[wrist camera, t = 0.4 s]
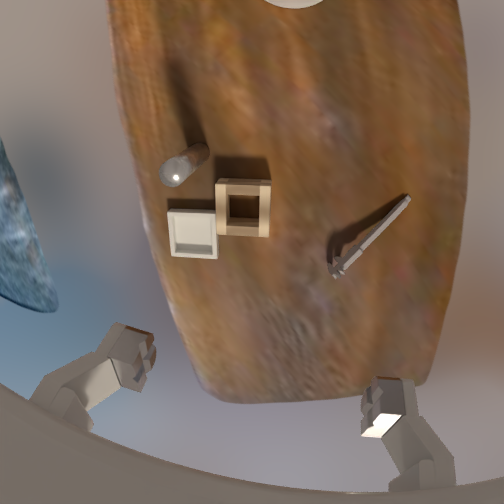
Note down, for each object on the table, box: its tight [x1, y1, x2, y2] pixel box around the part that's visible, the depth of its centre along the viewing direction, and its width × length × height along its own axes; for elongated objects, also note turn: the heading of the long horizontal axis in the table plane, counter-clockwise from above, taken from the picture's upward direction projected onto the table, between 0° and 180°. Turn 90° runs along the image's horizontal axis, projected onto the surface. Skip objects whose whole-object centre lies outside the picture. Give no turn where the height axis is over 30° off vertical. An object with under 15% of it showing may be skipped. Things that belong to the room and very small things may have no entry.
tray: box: [167, 208, 219, 259], centre depth 60 cm, size 9×9×2 cm
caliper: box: [327, 195, 411, 279], centre depth 55 cm, size 20×1×6 cm, turn 137°
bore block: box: [215, 178, 272, 237], centre depth 56 cm, size 9×9×4 cm
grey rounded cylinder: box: [159, 143, 210, 187], centre depth 48 cm, size 4×4×15 cm
